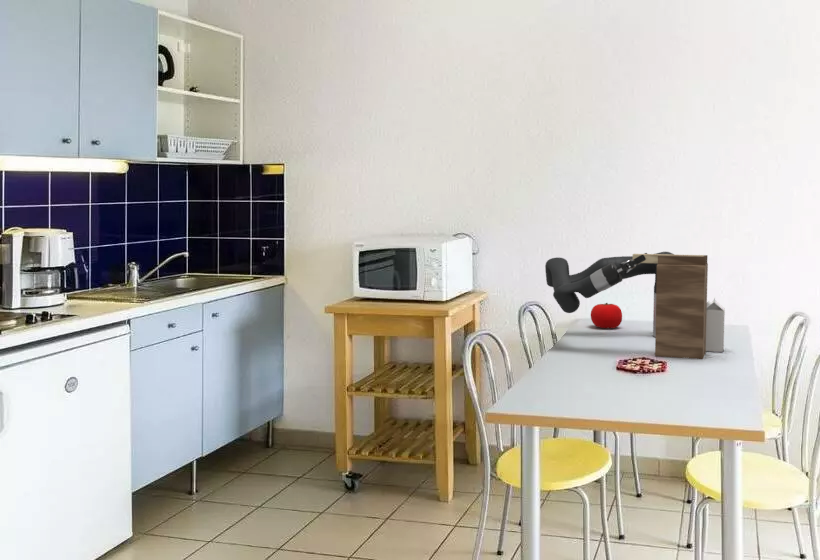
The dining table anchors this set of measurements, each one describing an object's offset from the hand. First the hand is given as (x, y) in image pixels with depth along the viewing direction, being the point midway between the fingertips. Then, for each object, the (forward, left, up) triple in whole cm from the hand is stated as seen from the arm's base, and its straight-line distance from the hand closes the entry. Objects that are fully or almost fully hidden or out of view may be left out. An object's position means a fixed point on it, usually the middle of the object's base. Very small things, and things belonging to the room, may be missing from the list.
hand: (646, 255), depth 350 cm
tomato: (-55, -23, -35) cm, 69 cm away
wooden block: (0, +7, -2) cm, 8 cm away
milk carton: (-13, +22, -35) cm, 43 cm away
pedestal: (0, +12, -35) cm, 37 cm away
